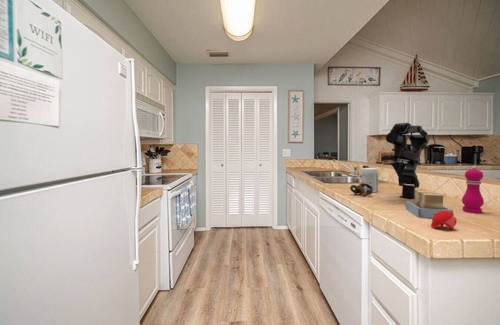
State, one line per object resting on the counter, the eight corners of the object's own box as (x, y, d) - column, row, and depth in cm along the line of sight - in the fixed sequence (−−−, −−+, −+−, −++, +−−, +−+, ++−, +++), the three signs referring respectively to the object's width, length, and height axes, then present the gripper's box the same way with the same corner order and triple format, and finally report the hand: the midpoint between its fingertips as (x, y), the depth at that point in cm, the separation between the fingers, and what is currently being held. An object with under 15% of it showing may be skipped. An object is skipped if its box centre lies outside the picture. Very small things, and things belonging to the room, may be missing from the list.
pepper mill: (474, 209, 115) (476, 165, 114) (487, 213, 108) (490, 166, 107) (457, 209, 116) (459, 165, 114) (469, 213, 108) (471, 166, 107)
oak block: (414, 210, 115) (414, 190, 114) (429, 211, 113) (430, 190, 113) (424, 217, 103) (425, 194, 102) (442, 218, 101) (443, 195, 101)
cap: (446, 215, 92) (431, 207, 93) (461, 214, 87) (445, 204, 87) (439, 235, 90) (424, 226, 90) (454, 235, 84) (438, 225, 85)
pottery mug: (367, 194, 155) (372, 184, 151) (369, 204, 147) (375, 193, 143) (347, 189, 156) (352, 178, 152) (348, 198, 148) (353, 187, 144)
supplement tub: (369, 189, 170) (370, 167, 169) (381, 192, 161) (382, 168, 160) (357, 190, 167) (358, 168, 166) (369, 193, 158) (369, 169, 157)
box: (405, 208, 117) (405, 200, 117) (434, 210, 114) (435, 202, 114) (418, 217, 102) (419, 208, 102) (452, 219, 99) (453, 210, 99)
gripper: (398, 141, 123) (398, 174, 121) (428, 147, 128) (428, 178, 126) (380, 145, 134) (380, 175, 132) (409, 150, 139) (408, 179, 137)
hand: (399, 176), depth 131 cm, fingers closed
